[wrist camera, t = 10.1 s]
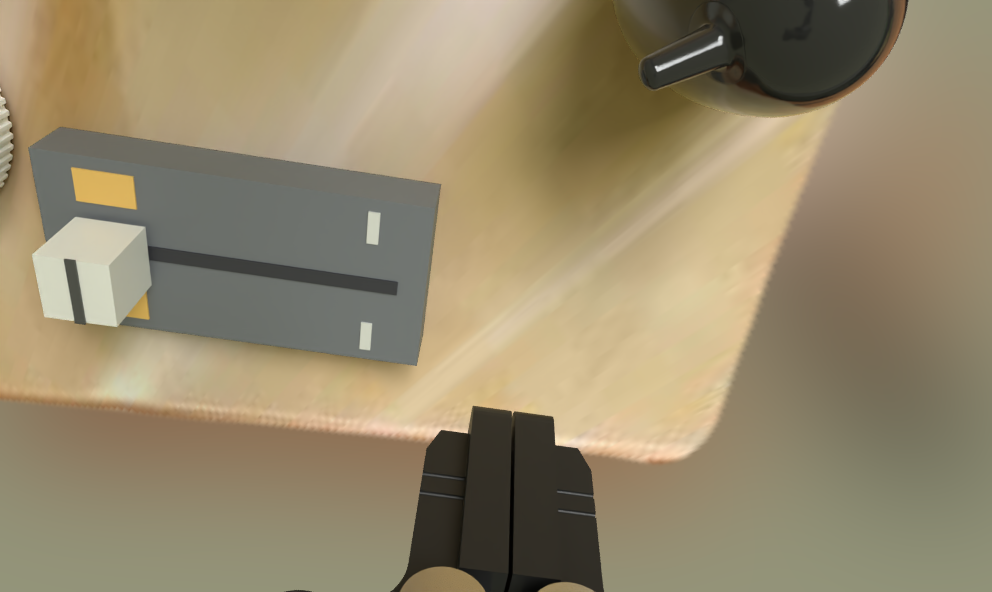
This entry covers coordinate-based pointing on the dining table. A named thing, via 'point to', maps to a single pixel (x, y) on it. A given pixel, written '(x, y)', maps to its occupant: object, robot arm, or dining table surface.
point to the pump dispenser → (760, 49)
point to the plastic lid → (4, 141)
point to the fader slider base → (255, 241)
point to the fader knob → (93, 271)
